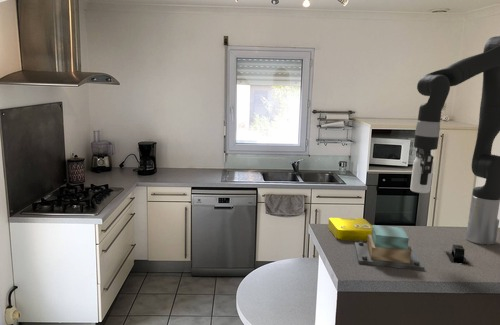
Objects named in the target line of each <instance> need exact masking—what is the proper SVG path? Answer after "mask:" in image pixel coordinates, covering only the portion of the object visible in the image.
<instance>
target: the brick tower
mask: <svg viewBox="0 0 500 325" xmlns="http://www.w3.org/2000/svg"><path fill="white" fill-rule="evenodd" d="M371 225H372V234H371V235H368V239H367V242H365V243H364V241H358V242H356V241H355V242H354V244H353V245H354V249H356V250H355V253H356V258H357V263H358V264H361V265H370V266H379V267H380V266H381V267H389V268H398V269H406V270H407V269H409V270H417V271H418V270H419V271H425V266H424V264H423V262H422V261H421V259H420V258H419V255H418V253H417V252H416V250H415V249H414V247H411V246H409V239H410V238H409V236H408V235H407V232H406V231H405V230H404V228H403V227H396V226H388V225H387V226H386V225H379V224H378V225H376V224H371Z"/></svg>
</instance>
